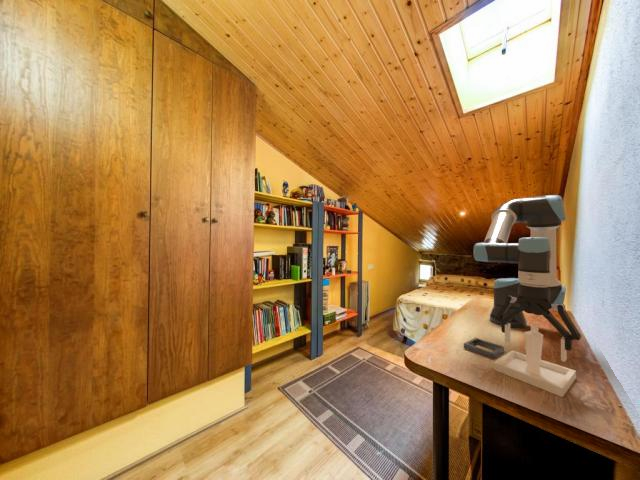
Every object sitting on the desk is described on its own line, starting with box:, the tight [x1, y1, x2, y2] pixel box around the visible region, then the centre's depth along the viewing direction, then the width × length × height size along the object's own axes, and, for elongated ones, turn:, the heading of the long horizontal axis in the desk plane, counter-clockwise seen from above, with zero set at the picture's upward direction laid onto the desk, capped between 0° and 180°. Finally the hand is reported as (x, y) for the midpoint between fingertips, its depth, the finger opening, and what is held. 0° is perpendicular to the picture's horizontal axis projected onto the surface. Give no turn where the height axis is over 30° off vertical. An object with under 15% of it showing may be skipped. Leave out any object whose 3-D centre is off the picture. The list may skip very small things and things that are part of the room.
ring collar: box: [463, 337, 505, 360], centre depth 90 cm, size 10×10×2 cm
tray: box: [493, 350, 577, 398], centre depth 74 cm, size 16×16×2 cm
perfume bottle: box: [524, 324, 544, 376], centre depth 74 cm, size 5×4×15 cm
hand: (533, 350), depth 74 cm, fingers open, 13 cm apart
